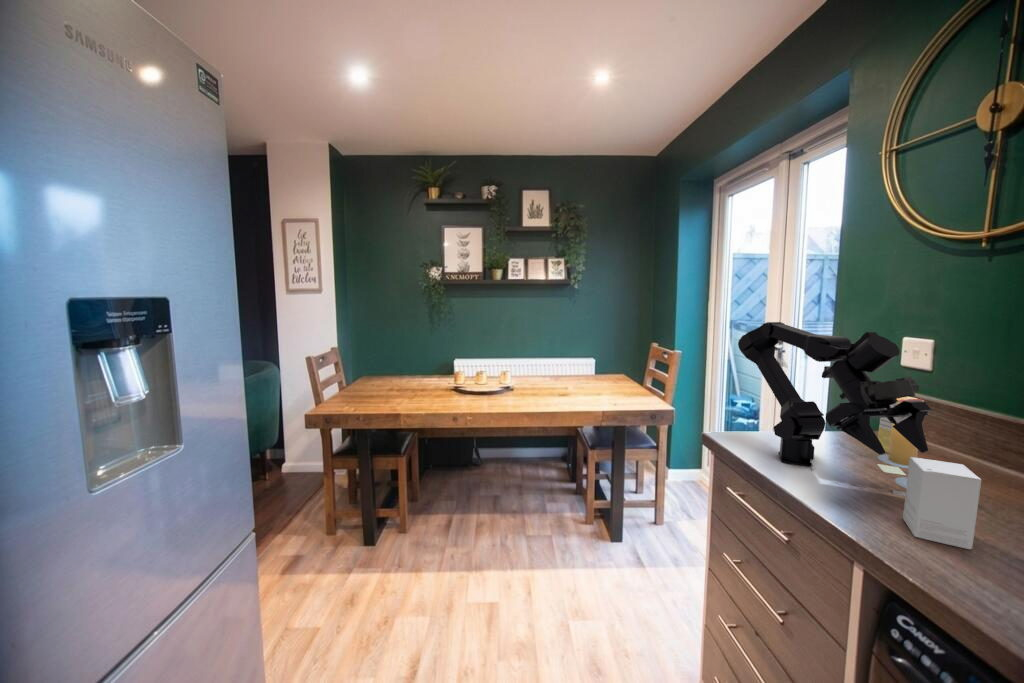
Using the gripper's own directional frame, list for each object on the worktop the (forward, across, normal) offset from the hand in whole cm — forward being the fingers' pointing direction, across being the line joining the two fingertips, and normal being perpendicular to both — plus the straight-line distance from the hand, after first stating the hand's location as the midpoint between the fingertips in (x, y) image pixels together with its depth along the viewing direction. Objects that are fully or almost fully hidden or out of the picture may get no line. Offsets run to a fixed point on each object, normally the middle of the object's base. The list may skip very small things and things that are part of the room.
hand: (904, 452), depth 78 cm
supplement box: (+14, 0, +4) cm, 14 cm away
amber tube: (-6, +23, +21) cm, 32 cm away
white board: (-1, +18, +18) cm, 26 cm away
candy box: (-10, +30, +28) cm, 42 cm away
